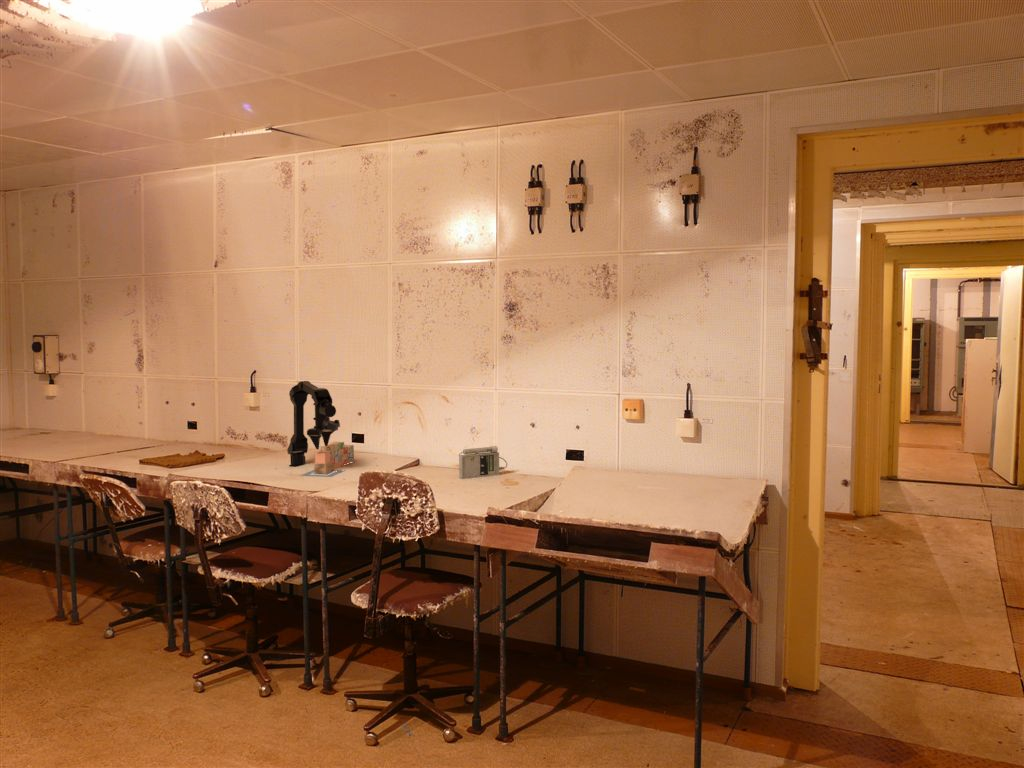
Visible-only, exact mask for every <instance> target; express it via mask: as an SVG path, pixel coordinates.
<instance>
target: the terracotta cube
mask: <svg viewBox="0 0 1024 768" xmlns="http://www.w3.org/2000/svg"><path fill="white" fill-rule="evenodd" d="M314 456H315V463H317V464H326V463H329V462H330V452H325V451H321V450H320V451H317V452H315V455H314Z"/></svg>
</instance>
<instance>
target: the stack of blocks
mask: <svg viewBox="0 0 1024 768" xmlns="http://www.w3.org/2000/svg"><path fill="white" fill-rule="evenodd" d="M354 447H355V446H354V444H345V441H331V442H328V446H325V444H324V443H323V444H321V445H319V450H320V451H325V452H330V462H332V468H333V469H336V468H338V467H342V466H345V465H344V464H347V463H350V462H353V461H354V462H355V450H354ZM341 465H342V466H341ZM335 467H336V468H335Z"/></svg>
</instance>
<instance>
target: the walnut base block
mask: <svg viewBox="0 0 1024 768" xmlns="http://www.w3.org/2000/svg"><path fill="white" fill-rule="evenodd" d="M313 464H314V465H313V466H314V468H313V470H314V471H315V474H328V473H331V472H332V470H333V469H332V462H329V463H326V464H317V463H316V462H315V463H313Z"/></svg>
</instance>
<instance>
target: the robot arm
mask: <svg viewBox="0 0 1024 768" xmlns="http://www.w3.org/2000/svg"><path fill="white" fill-rule="evenodd" d="M309 395H310V396H311V399H312V400H313V404H312V405H313V406H314V417H312V420H313V421H314V423H315V424H314V426H313V427H311V428H308V429H307V430H306V435H307V436H308V437H309V439H310V440H311V442H312V444H313V446H314V448H315V449H316V450H320V440H321V438H322V440H323V445H324V444H325V446H328V443H330V438H331V435H332V434H333V433H334V432H336V431H338V430H339V427H340V428H341V423H340V420H339V419H334V420H330V418H332V417H334V416H335V415H336V414H337V409H336V407H335V405H333V398H332V396H331V394H330V392H329V390H328V389H327V388H325V387H318V386H316V385H314V384H313V383H311V382H310V381H308V380H303V381H302V380H301V381H299V382H298V383H297V384H295V385H294V386H292V387H291V389H290V390H289V395H288V396H289V398H290V402H291V403H292V404H293V434H292V437H290V442H289V444H288V447H287V449H286V451H287V455H290V458H289V459H290V464H289V465H288V466H289V467H300V466H301V467H302V466H304V465H306V464H307V463H306V462H307V461H306V456H305V454H307V453H308V447H309V443H308V437H306V436H305V433H304V430H305V428H304V427H305V426H304V425H305V424H304V422H305V419H304V417H305V414H304V411H305V409H304V406H305V405H306V403H307V401H308V396H309Z"/></svg>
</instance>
